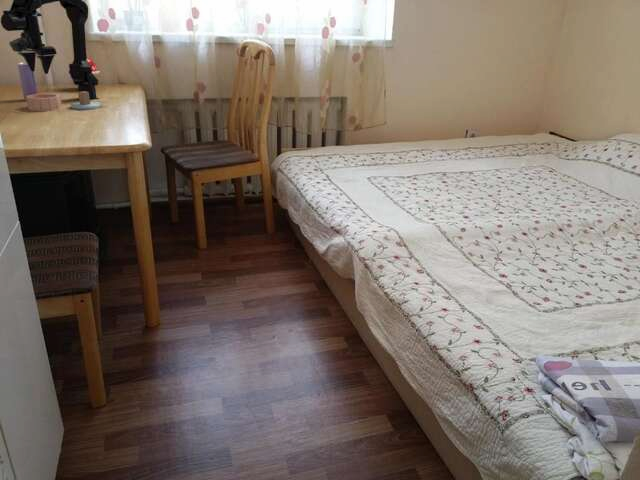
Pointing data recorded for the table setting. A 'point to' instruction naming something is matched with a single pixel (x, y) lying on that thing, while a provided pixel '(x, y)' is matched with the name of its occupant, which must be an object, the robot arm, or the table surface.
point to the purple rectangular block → (27, 80)
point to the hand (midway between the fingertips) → (39, 72)
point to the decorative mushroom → (92, 67)
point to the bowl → (44, 102)
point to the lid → (85, 102)
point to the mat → (82, 110)
